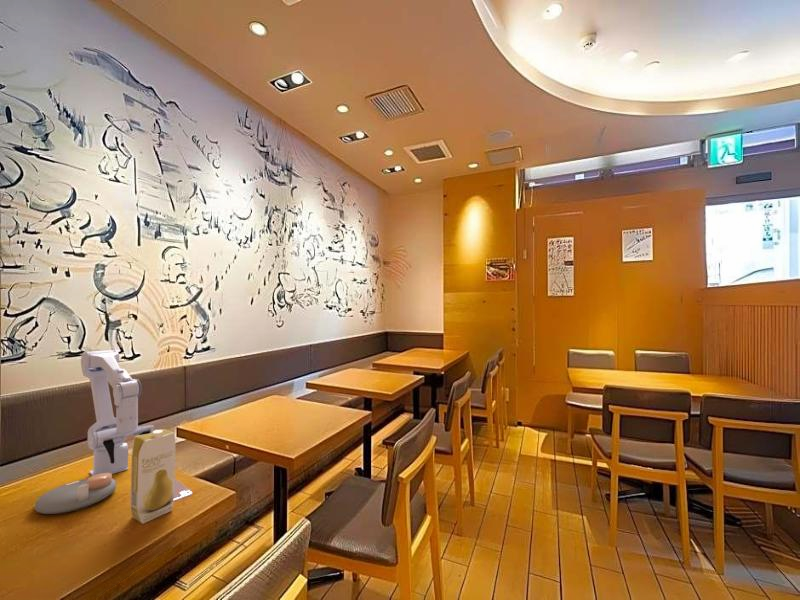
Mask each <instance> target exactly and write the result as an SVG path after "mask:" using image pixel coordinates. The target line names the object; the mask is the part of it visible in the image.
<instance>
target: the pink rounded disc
mask: <svg viewBox="0 0 800 600" xmlns="http://www.w3.org/2000/svg"><path fill="white" fill-rule="evenodd" d="M112 476H113V474H111V473H101V474H97V475H94V476H92V475H90V477H88V478H86V479H87V484H89V490H97V489H101V488H104V487H106V486H108V485H110V484H111V482H112V479H113V478H112Z"/></svg>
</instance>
